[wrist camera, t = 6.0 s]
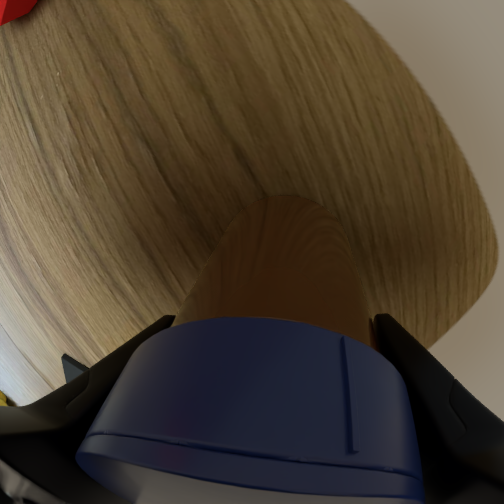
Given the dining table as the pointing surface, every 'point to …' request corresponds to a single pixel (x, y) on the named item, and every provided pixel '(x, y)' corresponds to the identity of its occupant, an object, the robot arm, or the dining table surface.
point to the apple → (14, 9)
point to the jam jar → (283, 271)
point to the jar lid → (255, 420)
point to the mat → (71, 368)
